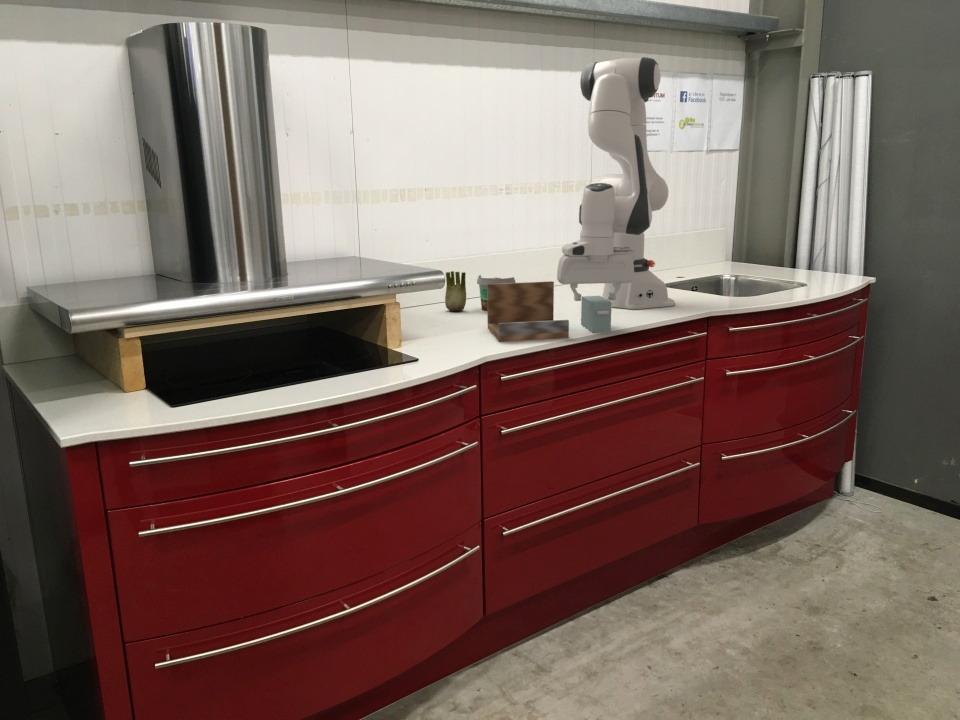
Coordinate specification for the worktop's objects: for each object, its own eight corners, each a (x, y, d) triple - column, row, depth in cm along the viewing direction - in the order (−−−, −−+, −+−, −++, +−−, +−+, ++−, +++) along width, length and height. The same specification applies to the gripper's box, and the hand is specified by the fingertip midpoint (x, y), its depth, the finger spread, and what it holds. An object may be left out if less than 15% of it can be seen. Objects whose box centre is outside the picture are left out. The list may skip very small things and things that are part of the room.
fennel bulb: (468, 310, 238) (467, 270, 235) (459, 313, 234) (458, 272, 231) (451, 308, 241) (450, 269, 238) (442, 311, 237) (441, 271, 234)
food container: (469, 310, 237) (469, 277, 235) (479, 307, 243) (478, 274, 240) (506, 314, 232) (506, 280, 229) (515, 310, 237) (515, 277, 235)
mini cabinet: (598, 324, 216) (599, 295, 214) (612, 333, 206) (612, 303, 204) (581, 325, 216) (581, 296, 214) (593, 334, 205) (594, 303, 203)
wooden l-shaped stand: (552, 324, 216) (552, 281, 213) (568, 337, 201) (569, 291, 198) (487, 328, 213) (487, 284, 210) (499, 341, 198) (498, 294, 195)
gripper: (630, 245, 210) (628, 297, 213) (556, 246, 207) (554, 299, 210) (639, 248, 204) (636, 301, 207) (562, 249, 201) (560, 303, 204)
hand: (594, 300), depth 209 cm, fingers open, 8 cm apart
